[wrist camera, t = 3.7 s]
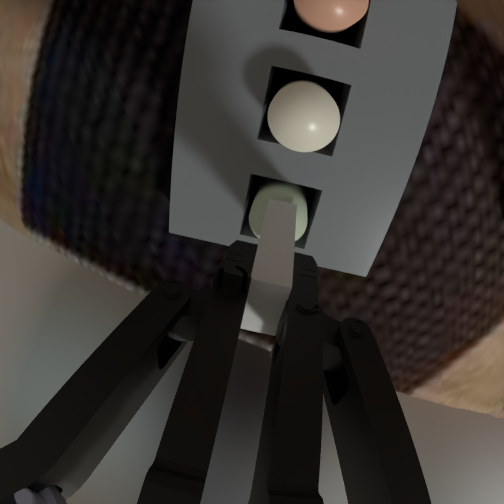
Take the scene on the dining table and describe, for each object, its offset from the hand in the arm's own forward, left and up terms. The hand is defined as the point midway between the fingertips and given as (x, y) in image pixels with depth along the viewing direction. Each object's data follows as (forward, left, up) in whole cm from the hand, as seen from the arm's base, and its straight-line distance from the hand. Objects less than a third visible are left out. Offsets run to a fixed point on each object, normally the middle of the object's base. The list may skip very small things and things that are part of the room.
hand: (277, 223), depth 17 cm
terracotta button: (-12, 0, -2) cm, 12 cm away
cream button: (-6, 0, -2) cm, 6 cm away
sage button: (0, 0, -3) cm, 3 cm away
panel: (-6, 0, -4) cm, 7 cm away
